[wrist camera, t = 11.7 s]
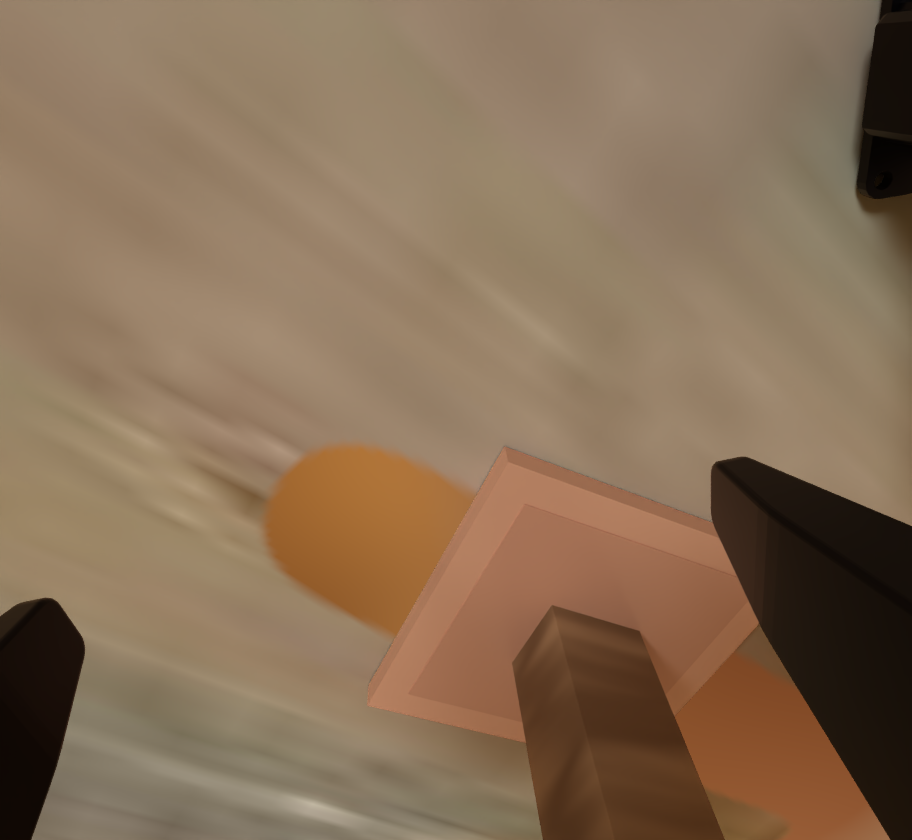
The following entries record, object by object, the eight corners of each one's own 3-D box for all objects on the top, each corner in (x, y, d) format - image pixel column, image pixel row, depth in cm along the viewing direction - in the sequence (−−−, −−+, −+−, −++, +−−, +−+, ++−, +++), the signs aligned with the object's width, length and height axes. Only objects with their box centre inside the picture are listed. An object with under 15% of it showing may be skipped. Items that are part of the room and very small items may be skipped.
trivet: (504, 446, 22) (508, 463, 21) (794, 552, 26) (809, 571, 25) (368, 685, 28) (367, 706, 27) (622, 747, 31) (629, 768, 30)
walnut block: (551, 604, 25) (644, 951, 15) (640, 630, 26) (779, 970, 16) (511, 663, 26) (572, 1013, 16) (596, 685, 27) (700, 1028, 17)
